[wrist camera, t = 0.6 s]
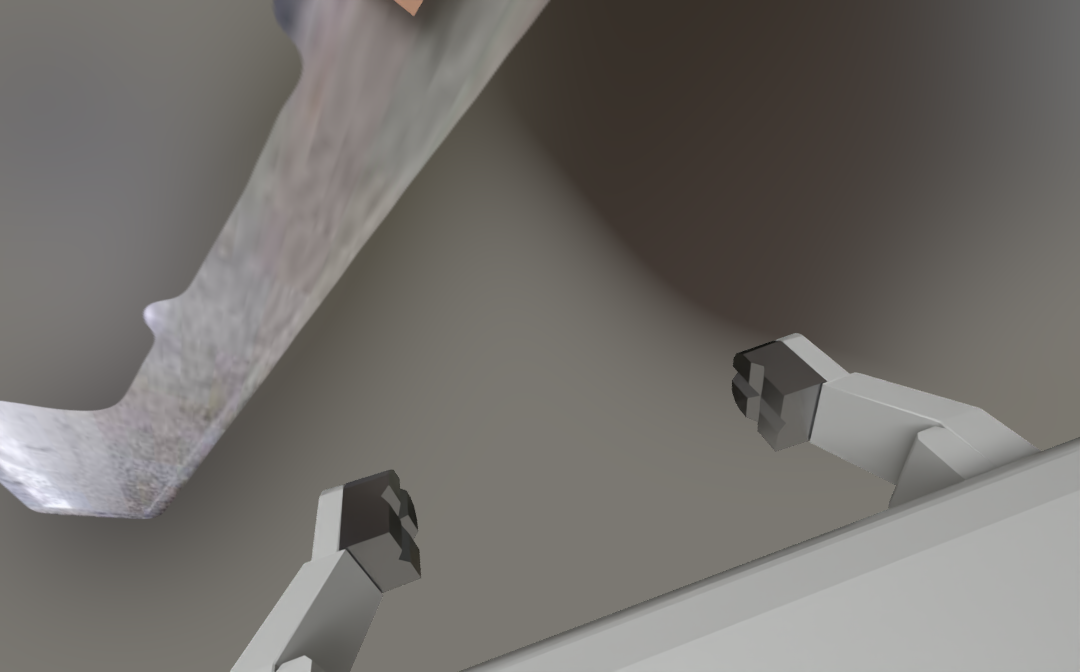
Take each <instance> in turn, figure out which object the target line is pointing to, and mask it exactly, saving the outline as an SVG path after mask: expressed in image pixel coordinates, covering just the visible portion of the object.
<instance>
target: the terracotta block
mask: <svg viewBox="0 0 1080 672" xmlns="http://www.w3.org/2000/svg"><path fill="white" fill-rule="evenodd" d="M394 1H396V2H397V3H398V4H399V5H401V6H402V7H403V8H404V9H406V10H407V11H408V12H409V13H411V14H412V15H413V16H414V15H415V13H416V12H417V10H418V8H419V7H420V5H421V4H422V2H423V0H394Z"/></svg>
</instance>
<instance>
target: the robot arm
mask: <svg viewBox="0 0 1080 672" xmlns="http://www.w3.org/2000/svg"><path fill="white" fill-rule="evenodd" d="M733 367H734V368H735V369H736V370H737V371H738V373H737V374H736V375H735V377H734V378H733V380H732V393H733V396H734V399H735V402H736V404H737V406H738V407H739V409H740V410H741V412H742V413H743V414H744V415H745V417H747V418H749V419H752V420H754V421H757V422H758V432H759V433H760V434H761V435H762V437H763V438H764V439H765V440H766V441H767V442H768V443H769V445H770V446H771V447H772V448H773V449H774V451H779V450H782V449H785V448H788V447H791V446H794V445H797V444H800V443H804V442H807V441H810V443H812V444H814V445H816V446H818V447H820V448H822V449H824V450H826V451H828V452H830V453H832V454H834V455H836V456H838V457H840V458H842V459H844V460H846V461H848V462H850V463H852V464H854V465H856V466H858V467H860V468H862V469H864V470H866V471H868V472H870V473H872V474H874V475H876V476H878V477H880V478H882V479H884V480H886V481H888V482H890V483H892V484H894V485H896V487H895V489H894V491H893V494H892V496H891V499H890V501H889V507H888V508H889V509H888V510H885V511H882V512H880V513H877V514H875V515H872V516H869V517H867V518H864V519H861V520H859V521H856V522H853V523H851V524H848V525H845V526H843V527H840V528H838V529H835V530H832V531H830V532H827V533H824V534H822V535H819V536H817V537H814V538H811V539H808V540H806V541H803V542H801V543H798V544H795V545H792V546H790V547H787V548H784V549H782V550H779V551H776V552H774V553H771V554H768V555H766V556H763V557H761V558H758V559H755V560H753V561H750V562H747V563H745V564H742V565H739V566H737V567H734V568H731V569H729V570H726V571H723V572H721V573H718V574H715V575H713V576H710V577H708V578H705V579H702V580H699V581H697V582H694V583H692V584H689V585H686V586H683V587H681V588H679V589H676V590H673V591H670V592H668V593H665V594H662V595H660V596H657V597H654V598H652V599H649V600H647V601H644V602H641V603H639V604H636V605H633V606H631V607H628V608H625V609H623V610H620V611H618V612H615V613H612V614H609V615H607V616H604V617H601V618H599V619H596V620H594V621H591V622H589V623H586V624H583V625H581V626H578V627H575V628H573V629H570V630H567V631H565V632H562V633H559V634H557V635H554V636H551V637H549V638H546V639H543V640H541V641H538V642H536V643H533V644H530V645H527V646H525V647H522V648H519V649H517V650H514V651H512V652H509V653H506V654H504V655H501V656H498V657H496V658H493V659H490V660H488V661H485V662H482V663H480V664H477V665H475V666H472V667H469V668H467V669H464V670H461V671H459V672H1080V437H1078V438H1076V439H1073V440H1070V441H1068V442H1065V443H1062V444H1060V445H1057V446H1054V447H1052V448H1049V449H1047V450H1044V451H1040V450H1039V449H1038V448H1036V447H1035V446H1033V445H1032V444H1030V443H1029V442H1028V441H1026V440H1025V439H1023V438H1022V437H1020V436H1019V435H1017V434H1016V433H1015V432H1013V431H1012V430H1011V429H1009V428H1008V427H1006V426H1005V425H1003V424H1002V423H1001V422H999V421H998V420H996V419H995V418H993V417H992V416H991V415H989V414H988V413H986V412H985V411H984V410H982V409H981V408H978V407H974V406H971V405H967V404H964V403H960V402H957V401H954V400H950V399H947V398H943V397H940V396H936V395H933V394H929V393H926V392H922V391H919V390H916V389H912V388H908V387H905V386H902V385H898V384H895V383H891V382H888V381H885V380H881V379H878V378H874V377H870V376H867V375H863V374H860V373H857V372H855V373H852V374H849V373H848V372H847V371H846V370H844V369H843V368H842V367H841V366H839V365H838V364H837V363H836V362H834V361H833V360H832V359H831V358H830V357H828V356H827V355H826V354H825V353H824V352H822V351H821V350H820V349H819V348H817V347H816V346H815V345H813V344H812V343H811V342H810V341H809V340H808V339H806V338H805V337H804V336H803V335H801V334H798V333H794V334H792V335H789V336H786V337H783V338H780V339H777V340H775V341H771V342H768V343H765V344H762V345H759V346H756V347H753V348H751V349H748V350H745V351H742V352H739V353H736V355H735V357H734V359H733ZM417 532H418V524H417V517H416V513H415V509H414V505H413V503H412V500H411V497H410V496H409V494H408V492H407V491H406V490H403V489H400V480H399V477H398V476H397V474H396V473H395V471H394V470H387V471H384V472H381V473H378V474H374V475H371V476H368V477H365V478H361V479H358V480H355V481H352V482H348V483H346V484H343V485H340V486H337V487H334V488H330V489H327V490H324V491H323V492H322V493H321V496H320V497H319V503H318V511H317V519H316V527H315V535H314V543H313V551H312V560H311V561H309V562H306V563H304V565H303V566H302V567H301V569H300V570H299V572H298V574H297V575H296V576H295V578H294V579H293V581H292V582H291V583H290V585H289V586H288V588H287V589H286V591H285V592H284V594H283V595H282V597H281V598H280V599H279V601H278V603H277V604H276V605H275V607H274V609H273V610H272V611H271V613H270V614H269V616H268V617H267V618H266V620H265V621H264V623H263V624H262V626H261V627H260V629H259V630H258V632H257V633H256V634H255V636H254V637H253V639H252V640H251V642H250V643H249V645H248V646H247V648H246V649H245V651H244V652H243V654H242V655H241V656H240V658H239V659H238V661H237V662H236V664H235V665H234V667H233V668H232V669H231V671H230V672H350V670H351V668H352V666H353V663H354V661H355V659H356V657H357V654H358V652H359V650H360V647H361V645H362V643H363V641H364V638H365V636H366V634H367V631H368V629H369V627H370V625H371V622H372V620H373V618H374V615H375V613H376V611H377V609H378V606H379V604H380V601H381V599H382V597H383V594H382V593H384V592H386V591H389V590H392V589H394V588H397V587H399V586H402V585H405V584H407V583H410V582H412V581H415V580H418V579H420V578H421V568H420V554H419V553H420V552H419V548H418V547H417V545H416V544H415V542H414V540H413V539H414V538H415V536H416V534H417Z"/></svg>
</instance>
